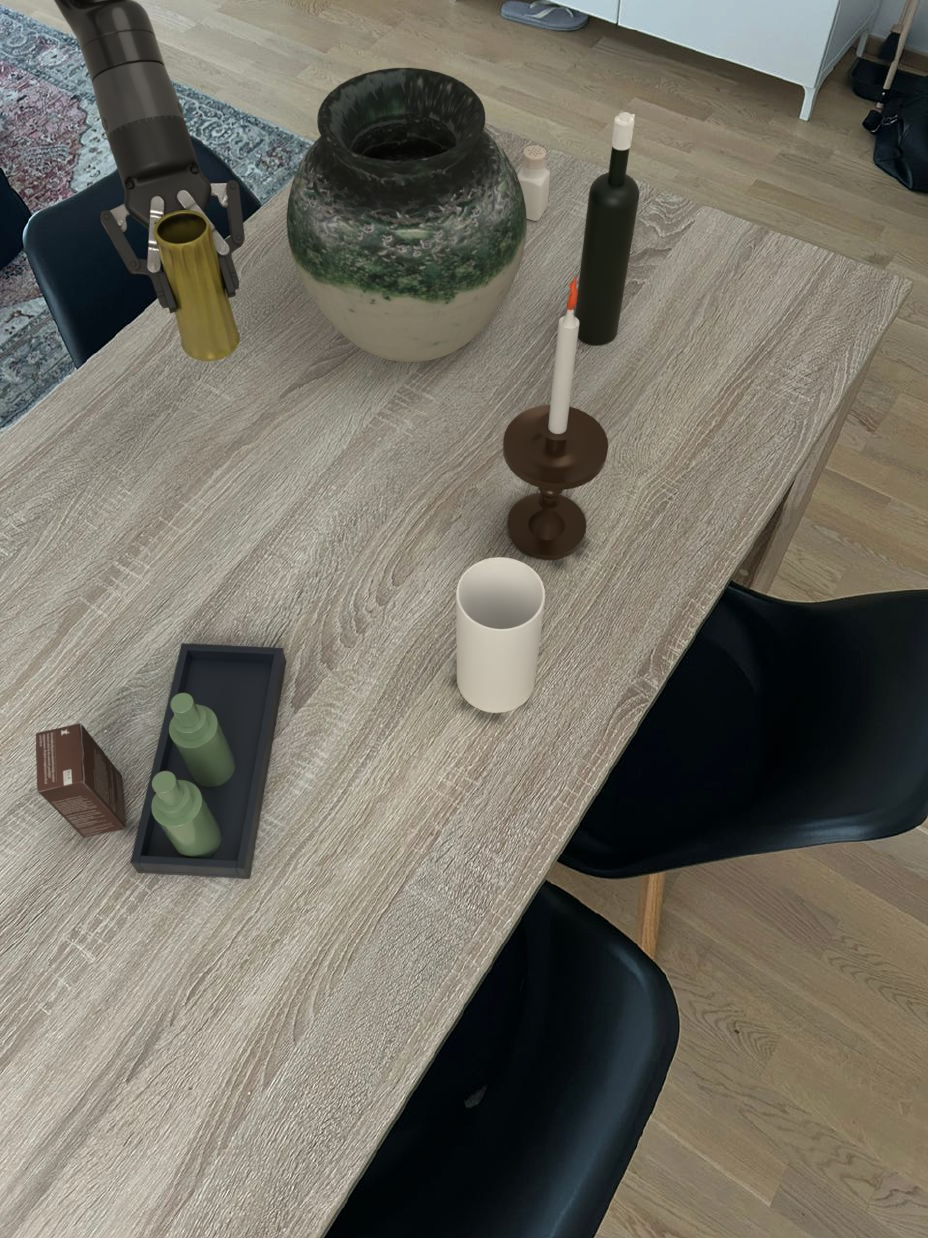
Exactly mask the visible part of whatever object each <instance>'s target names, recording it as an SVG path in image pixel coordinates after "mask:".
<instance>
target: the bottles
mask: <svg viewBox="0 0 928 1238" xmlns="http://www.w3.org/2000/svg"><path fill="white" fill-rule="evenodd" d="M170 705H171V708H172V710H173V712H174V716H173V718H172V720H171V722H170V725H169V734H170V737H171V739H172V740H173V742H174V744H175V746H176V748H177V750H178V752H179V753H180V755H181V757H182V759H183V761H184V763H185V764H186V766H187V768H188V770H189V772H190V774H191V776H192V777H193V779H194V780H195V781H196V782H197V783H198V784H199V785H201V786H204V787H216V786H219V785H222V784H224V783H225V782H226V781H228V780H229V779H230V777H231V776H232V775H233V773H234V770H235V758H234V756H233V754H232V751H231V749H230V747H229V744H228V742H227V740H226V738H225V735H224V733H223V731H222V729H221V726H220V724H219V722H218V719H217V717H216V715H215V714H214V712H213V711H212V710H211V709H209V708H208V707H205V706H202V705H197V704H195V702H194V700H193V698H192V696H191V695H189V694H187V693H179V694H177V695H175V696H174V697H173V698H172V700H171V704H170ZM152 787H153V789H154V791H155V792H156V794H155V795H154V798H153V800H152V805H151V809H152V814H153V816H154V818H155V819H156V821H157V822H158V824H159V825H160V827H161V828H162V830H163V831H164V833H165V834H166V836H167V837H168V839H169V840H170V842H171V843H172V845H173V846H174V848H175V849H176V851H177V852H178V854H179V855H180V856H181V857H182V858H197V859H207V858H209V857H211V856H212V855H213V854H214V853H215V852H216V851H217V850H218V848H219V846H220V844H221V839H222V833H221V829H220V827H219V825H218V824H217V822H216V820H215V818H214V816H213V814H212V812H211V811H210V809H209V807H208V805H207V803H206V801H205V799H204V798H203V796H202V794H201V792H200V790H199V789H198V787H197V786H196V785H194V784H193V783H191V782H189V781H185V780H177V779H176V777H175V775H174V774H173V773H171V772H169V771H162V772H160V773H158V774H157V775H155V777H154V778H153V780H152Z"/></svg>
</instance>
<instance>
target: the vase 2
mask: <svg viewBox="0 0 928 1238" xmlns="http://www.w3.org/2000/svg"><path fill="white" fill-rule="evenodd" d="M485 111H486V110H485V107H484V103H483V102H482V100H481V99H480V97H479V95H478V94H477V93H476V92H475V90H473V89H472V88H471V87H469V86H468V85H467V84H466V83H464V82H463V81H461V80H459V79H457V78H456V77H453V76H450V75H448V74H445V73H443V72H440V71H436V70H431V69H426V68H418V67H391V68H383V69H376V70H373V71H368V72H365V73H361V74H359V75H357V76H354V77H351V78H349V79H348V80H345V81H343V83H341V84H339V85H337V86H336V87H335V88H334V89H333V90H331V91H330V92H329V93H328V95H327V96H326V97H325V98H324V99H323V100H322V102H321V104H320V106H319V108H318V112H317V117H316V118H317V120H316V121H317V123H316V124H317V130H318V133H319V135H320V136H319V137H318V138H317V139H316V140H315V141H314V142H313V144H312V145H311V146H310V147H309V149H308V151H306V153H305V154H304V155H303V158H302V159H301V160H300V163H299V166H298V168H297V169H296V171H295V174H294V177H293V179H292V182H291V187H290V190H289V195H288V198H287V208H286V233H287V240H288V245H289V249H290V255H291V258H292V260H293V264H294V266H295V269H296V271H297V273H298V276H299V278H300V280H301V282H302V283H303V286H304V287H305V289H306V291H307V293H308V295H309V296H310V298H311V299H312V301H313V302H314V304H315V305H316V306H317V308H318V309H319V310H320V312H321V313H322V314H323V316H324V317H325V318H326V319H327V321H329V323H330V324H331V325H332V326H333V327H334V328H335V329H336V330H337V331H338V332H339V333H340V334H341V336H343V337H344V338H346V339H347V340H348V341H349V342H350V343H352V344H353V345H355V346H356V347H358V348H359V349H361V350H363V351H364V352H366V353H368V354H371V355H373V356H375V357H377V358H381V359H384V360H388V361H393V362H400V363H420V362H421V363H423V362H426V361H427V362H428V361H432V360H437V359H441V358H443V357H445V356H446V357H447V356H449V355H451V354H452V353H455V352H457V351H458V350H459V349H461V348H463V347H464V346H466V345H468V344H469V343H470V342H471V341H472V340H473V339H475V338H476V337H477V336H478V335H479V334H480V333H481V332H482V331H483V330H484V329H485V328H486V326H487V325H488V324H489V323H490V322H491V320H492V319H493V318H494V316H495V314H496V313H497V311H499V309H500V307H501V306H502V304H503V302H504V300H506V297H507V296H508V294H509V292H510V290H511V288H512V285H514V284H513V283H514V281H515V279H516V277H517V274H518V272H519V268H520V266H521V263H522V259H523V255H524V251H525V247H526V240H527V229H528V219H527V216H526V205H525V201H524V196H523V191H522V188H521V185H520V182H519V179H518V177H517V175H518V173H517V172H516V169H515V167H514V165H513V163H511V160H510V159H509V157H508V155H507V153H506V152H505V150H504V149H503V148H502V147H501V145H499V143H497V141H496V140H495V139H494V138H493V137H492V136H491V135H490V134H489V133H488V132H487V131H486V130H484V129H485V125H486V112H485Z"/></svg>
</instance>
